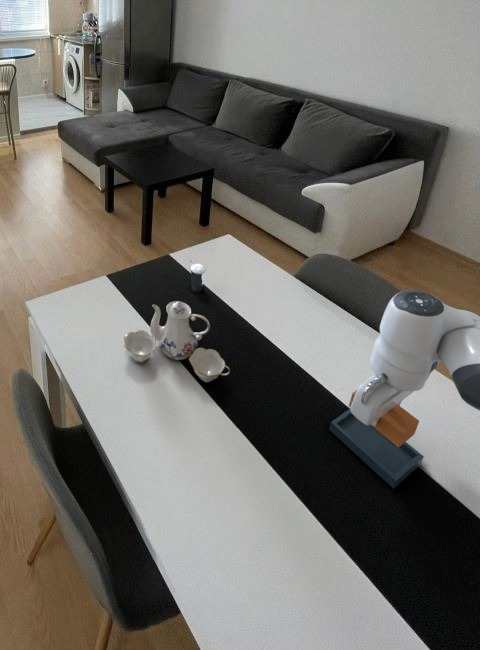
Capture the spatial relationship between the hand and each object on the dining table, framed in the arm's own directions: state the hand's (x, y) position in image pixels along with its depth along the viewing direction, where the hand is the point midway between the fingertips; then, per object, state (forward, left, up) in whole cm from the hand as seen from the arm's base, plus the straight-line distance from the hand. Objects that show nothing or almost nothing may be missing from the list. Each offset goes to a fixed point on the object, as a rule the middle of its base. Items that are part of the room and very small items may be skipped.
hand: (382, 414), depth 88 cm
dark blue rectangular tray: (0, 0, -10) cm, 10 cm away
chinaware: (+31, -33, -10) cm, 46 cm away
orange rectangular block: (0, 0, -2) cm, 2 cm away
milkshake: (+13, -56, -10) cm, 58 cm away
